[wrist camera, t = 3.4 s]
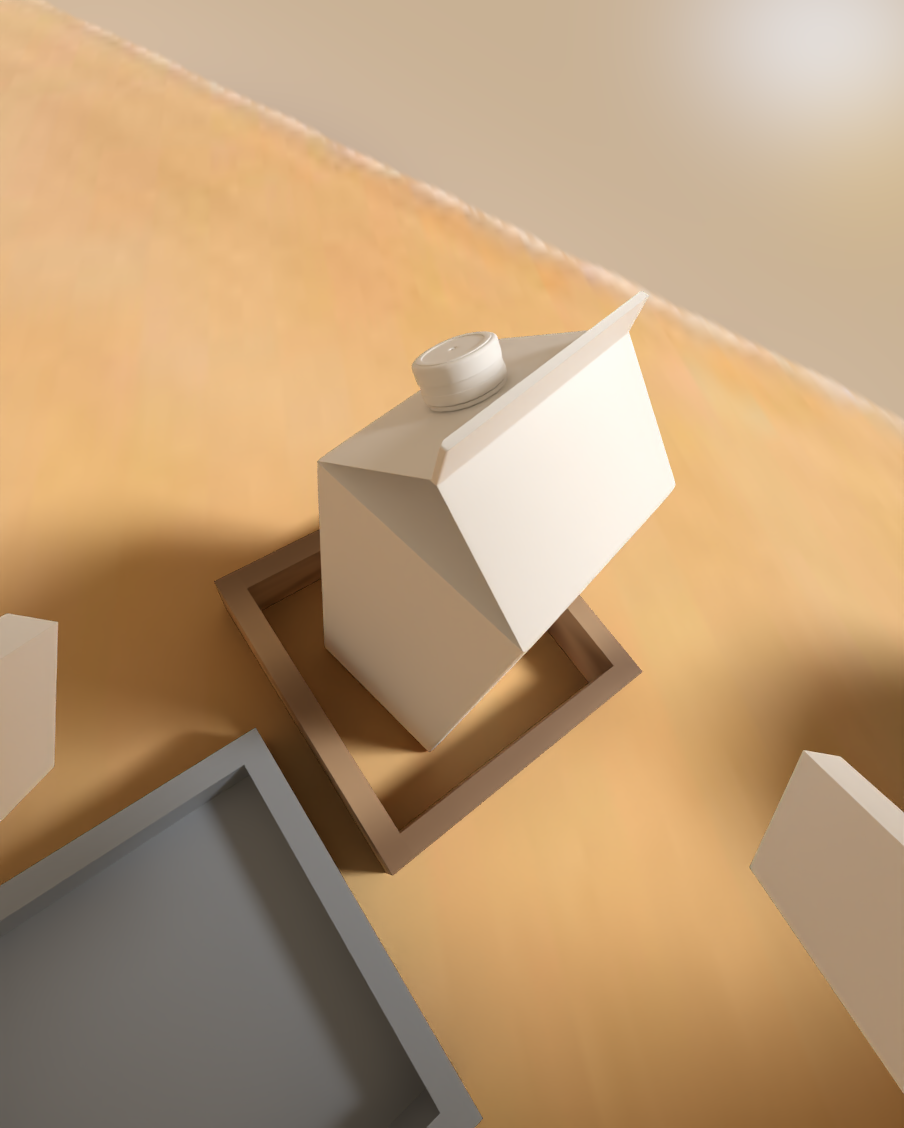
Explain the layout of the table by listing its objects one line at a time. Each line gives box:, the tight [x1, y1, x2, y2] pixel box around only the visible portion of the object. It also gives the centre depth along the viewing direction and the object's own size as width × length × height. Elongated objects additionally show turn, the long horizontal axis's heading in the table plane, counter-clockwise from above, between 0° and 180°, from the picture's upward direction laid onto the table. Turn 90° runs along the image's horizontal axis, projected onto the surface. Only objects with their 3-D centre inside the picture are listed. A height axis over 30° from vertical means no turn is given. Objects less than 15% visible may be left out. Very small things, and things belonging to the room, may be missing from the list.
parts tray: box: [0, 727, 483, 1128], centre depth 19 cm, size 15×15×3 cm
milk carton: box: [317, 291, 675, 752], centre depth 20 cm, size 7×7×19 cm
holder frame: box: [214, 529, 642, 875], centre depth 27 cm, size 14×14×3 cm
